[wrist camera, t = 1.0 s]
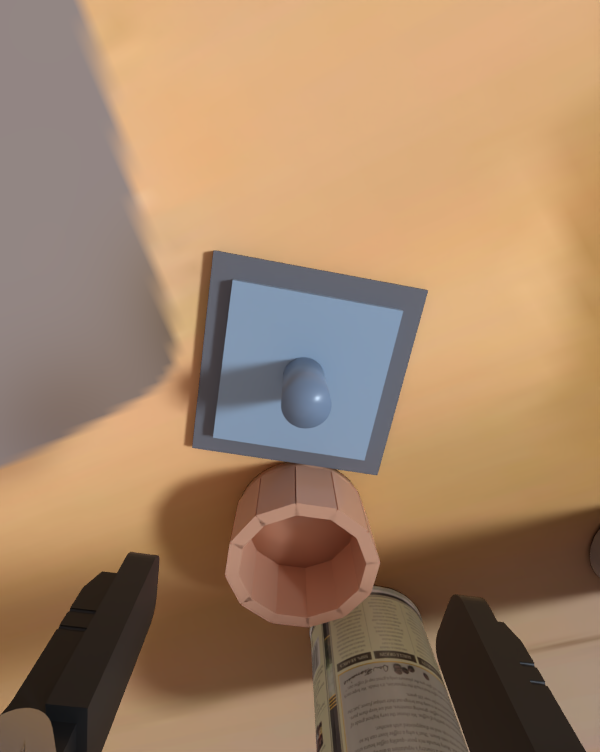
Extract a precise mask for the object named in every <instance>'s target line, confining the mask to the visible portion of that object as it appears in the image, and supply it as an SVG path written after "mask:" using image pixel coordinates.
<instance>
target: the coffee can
mask: <svg viewBox="0 0 600 752" xmlns="http://www.w3.org/2000/svg"><path fill="white" fill-rule="evenodd" d="M310 640H311V651H312V672H313V690H314V707H315V725H316V744H317V752H468V749H467V747H466V744H465V741H464V738H463V735H462V733H461V730H460V727H459V724H458V721H457V719H456V716H455V713H454V710H453V708H452V705H451V702H450V699H449V696H448V694H447V691H446V688H445V685H444V682H443V680H442V677H441V674H440V671H439V668H438V666H437V663H436V660H435V657H434V654H433V652H432V649H431V646H430V643H429V641H428V638H427V635H426V632H425V629H424V627H423V624H422V619H421V615H420V613H419V611H418V609H417V607H416V606H415V605H414V603H413V602H412V601H411V600H410V599H408V598H407V597H406V596H404V595H403V594H401V593H399V592H397V591H395V590H393V589H390V588H384V587H379V586H373V589H372V592H371V593H370V595H369V596H368V597H367V598H366V599H365V600H363V601H362V602H361V603H360V604H359V605H358V606H357V607H356V608H354V609H353V610H352V611H351V612H350V613H349V614H348V615H346V616H344V617H343V618H340V619H336V620H333V621H329V622H326V623H323V624H319V625H316V626H312V627H310Z"/></svg>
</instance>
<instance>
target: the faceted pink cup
mask: <svg viewBox="0 0 600 752" xmlns="http://www.w3.org/2000/svg"><path fill="white" fill-rule="evenodd" d="M379 566H380V560H379V556H378V553H377V549H376V546H375V542H374V539H373V535H372V531H371V528H370V524H369V521H368V518H367V515H366V512H365V509H364V507H363V504H362V501H361V498H360V496H359V493H358V491H357V490H356V488H355V487H354V485H353V484H352V483H351V482H350V480H349V479H348V478H347V477H345V476H344V475H343V474H342V473H340V472H339V471H337V470H336V469H332V468H325V467H318V466H311V465H305V464H298V463H291V462H286V463H282V464H278V465H276V466H273V467H271V468H269V469H267V470H265V471H264V472H262V473H261V474H259V475H258V476H257V477H256V478H255V479H254V480H253V481H252V482H251V483H250V484H249V485H248V487H247V488H246V490H245V491H244V493H243V495H242V497H241V499H240V500H239V502H238V506H237V511H236V516H235V521H234V525H233V530H232V535H231V540H230V545H229V551H228V558H227V564H226V571H225V577H226V579H227V581H228V582H229V584H230V586H231V588H232V590H233V592H234V594H235V596H236V598H237V599H238V601H239V603H240V604H241V605H242V606H243V607H245V608H247V609H248V610H250V611H252V612H253V613H255V614H257V615H258V616H260V617H261V618H263V619H265V620H266V621H268V622H270V623H271V622H272V623H274V624H282V625H291V626H299V627H308V626H309V627H312V626H316V625H319V624H323V623H326V622H329V621H333V620H336V619H340V618H343V617H344V616H346V615H348V614H349V613H350V612H351V611H352V610H353V609H354V608H356V607H357V606H358V605H359V604H360V603H361V602H362V601H363V600H365V599H366V598H367V597H368V596H369V595H370V593H371V592H372V589H373V586H374V582H375V579H376V576H377V572H378V569H379Z"/></svg>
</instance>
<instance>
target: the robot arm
mask: <svg viewBox="0 0 600 752" xmlns="http://www.w3.org/2000/svg"><path fill="white" fill-rule="evenodd" d="M590 561H591V566H592V568H593V570H594V572H595V573H596V574H597V575H598V576H599V577H600V529H599V531H598V532H597V534H596V536H595V537H594V540H593V542H592V545H591V549H590ZM158 572H159V556H158V555H150V554H142V553H134V552H130V553H128V555H127V556H126V558H125V560H124V562H123V563H122V565H121V567H120V569H119V571H118V572H117V573H110V572H101V573H100V574H99V575H97V576H96V577H95V578H94V579H93V580H91V581H90V582H89V583H88V584H87V585H86V586H84V587H83V589H82V590H81V592H80V593H79V595H78V596H77V598H76V600H75V601H74V603H73V604H72V606H71V608H70V611H69V612H67V614H66V616H65V617H64V619H63V620H62V622H61V624H60V626H59V629H57V630H56V632H55V633H54V635H53V636H52V638H51V640H50V641H49V643H48V644H47V646H46V648H45V649H44V651H43V652H42V654H41V656H40V657H39V659H38V660H37V662H36V664H35V665H34V667H33V668H32V670H31V672H30V673H29V675H28V676H27V678H26V679H25V681H24V683H23V684H22V686H21V687H20V689H19V691H18V692H17V694H16V695H15V697H14V699H13V700H12V701H11V703H10V704H9V706H8V707H7V708H6V709H5V710H4V711H3V713H2V714H1V715H0V752H102V749H103V747H104V744H105V741H106V739H107V736H108V734H109V731H110V728H111V726H112V723H113V721H114V718H115V715H116V713H117V710H118V708H119V705H120V702H121V700H122V697H123V695H124V692H125V689H126V687H127V684H128V681H129V679H130V676H131V674H132V671H133V668H134V666H135V663H136V661H137V658H138V655H139V653H140V650H141V648H142V645H143V642H144V640H145V637H146V635H147V632H148V629H149V627H150V624H151V621H152V617H153V613H154V609H155V604H156V596H157V584H158ZM436 653H437V658H438V662H439V665H440V668H441V671H442V673H443V676H444V679H445V682H446V685H447V688H448V690H449V693H450V696H451V699H452V702H453V705H454V708H455V710H456V713H457V716H458V719H459V722H460V725H461V727H462V730H463V733H464V736H465V739H466V742H467V744H468V747H469V750H470V752H586V751H585V749H584V748H583V746H582V744H581V743H580V741H579V739H578V737H577V736H576V734H575V732H574V731H573V729H572V727H571V725H570V724H569V722H568V720H567V719H566V717H565V715H564V713H563V712H562V710H561V708H560V707H559V705H558V703H557V701H556V700H555V698H554V696H553V695H552V693H551V691H550V689H549V688H548V686H546V685H545V681H544V679H543V677H542V676H541V674H540V672H539V671H538V669H537V668H535V666H534V662H533V660H532V659H531V657H530V655H529V653H528V652H527V650H526V648H525V647H524V645H523V643H522V642H521V640H520V639H519V638H518V637H517V636H516V635H515V634H514V633H513V632H512V631H511V630H510V629H509V628H508V627H507V625H506V624H505V623H504V622H497V620H496V618H495V616H494V615H493V613H492V611H491V609H490V607H489V605H488V604H487V602H486V601H485V600H484V599H483V598H479V597H471V596H463V595H453V596H452V597H451V599H450V601H449V604H448V606H447V609H446V612H445V614H444V617H443V620H442V622H441V625H440V628H439V630H438V633H437V637H436Z"/></svg>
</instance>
